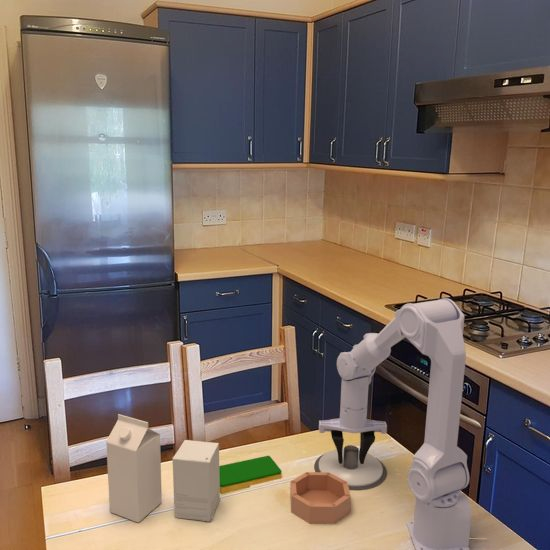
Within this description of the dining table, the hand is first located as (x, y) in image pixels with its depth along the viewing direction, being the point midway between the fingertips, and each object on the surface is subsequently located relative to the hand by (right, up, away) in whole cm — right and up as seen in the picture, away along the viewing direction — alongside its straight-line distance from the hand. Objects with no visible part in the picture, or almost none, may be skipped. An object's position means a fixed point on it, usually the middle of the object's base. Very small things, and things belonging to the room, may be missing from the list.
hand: (350, 461), depth 122 cm
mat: (0, -2, 0) cm, 2 cm away
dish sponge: (-23, -3, -3) cm, 23 cm away
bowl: (-8, -5, -12) cm, 15 cm away
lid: (0, -2, 0) cm, 2 cm away
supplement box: (-32, -5, -14) cm, 35 cm away
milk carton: (-44, -5, -14) cm, 46 cm away
